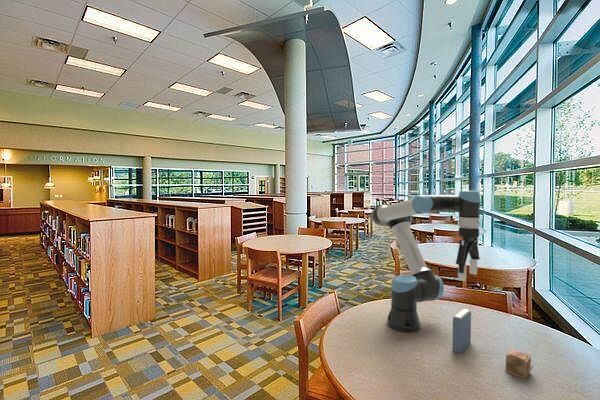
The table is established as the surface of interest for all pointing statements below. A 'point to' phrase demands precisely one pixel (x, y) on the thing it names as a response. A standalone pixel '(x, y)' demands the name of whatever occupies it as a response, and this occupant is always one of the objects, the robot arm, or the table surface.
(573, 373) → the table surface
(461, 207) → the robot arm
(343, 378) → the table surface
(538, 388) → the table surface
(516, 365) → the letter block
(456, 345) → the navy book
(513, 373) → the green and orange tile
